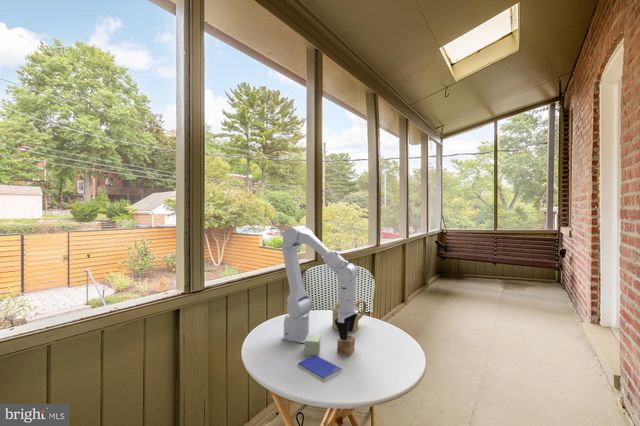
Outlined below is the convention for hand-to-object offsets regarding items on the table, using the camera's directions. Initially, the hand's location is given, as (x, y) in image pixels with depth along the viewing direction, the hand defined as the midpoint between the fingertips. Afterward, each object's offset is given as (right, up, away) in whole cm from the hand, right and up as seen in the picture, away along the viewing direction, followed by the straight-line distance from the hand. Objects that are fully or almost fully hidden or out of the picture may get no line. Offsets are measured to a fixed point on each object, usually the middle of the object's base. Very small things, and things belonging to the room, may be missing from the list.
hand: (346, 335), depth 115 cm
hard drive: (-10, -7, -11) cm, 16 cm away
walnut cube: (0, -6, 0) cm, 6 cm away
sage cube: (-12, -6, 0) cm, 14 cm away
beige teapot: (+2, -5, +23) cm, 24 cm away
